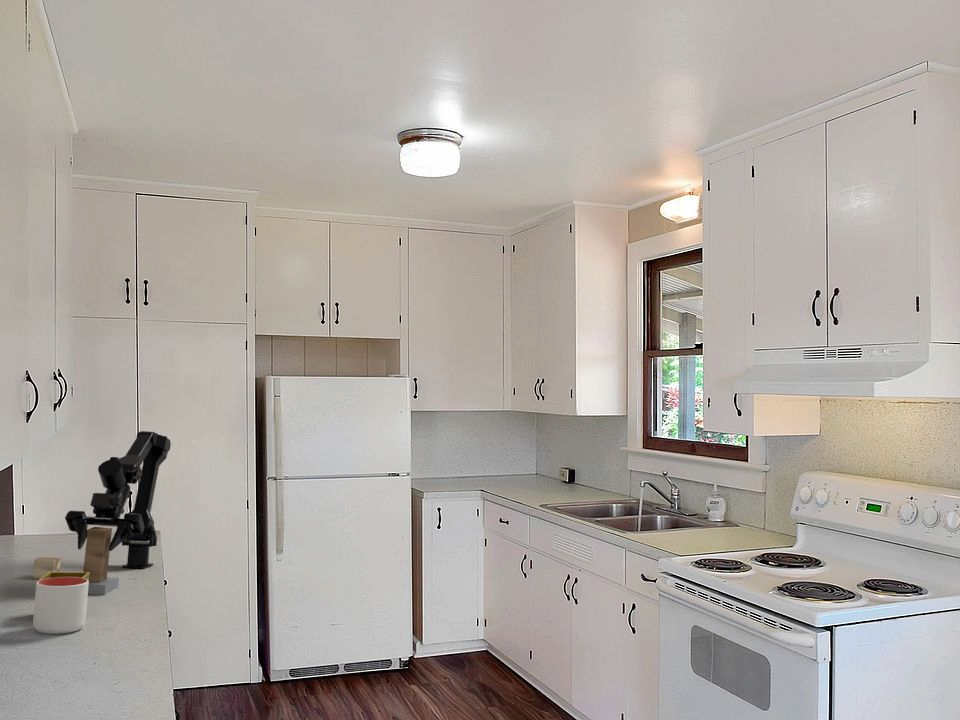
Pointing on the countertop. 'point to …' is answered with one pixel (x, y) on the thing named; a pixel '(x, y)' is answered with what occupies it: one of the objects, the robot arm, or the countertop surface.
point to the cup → (60, 605)
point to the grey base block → (103, 586)
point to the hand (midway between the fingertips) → (94, 549)
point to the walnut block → (97, 553)
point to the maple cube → (46, 566)
